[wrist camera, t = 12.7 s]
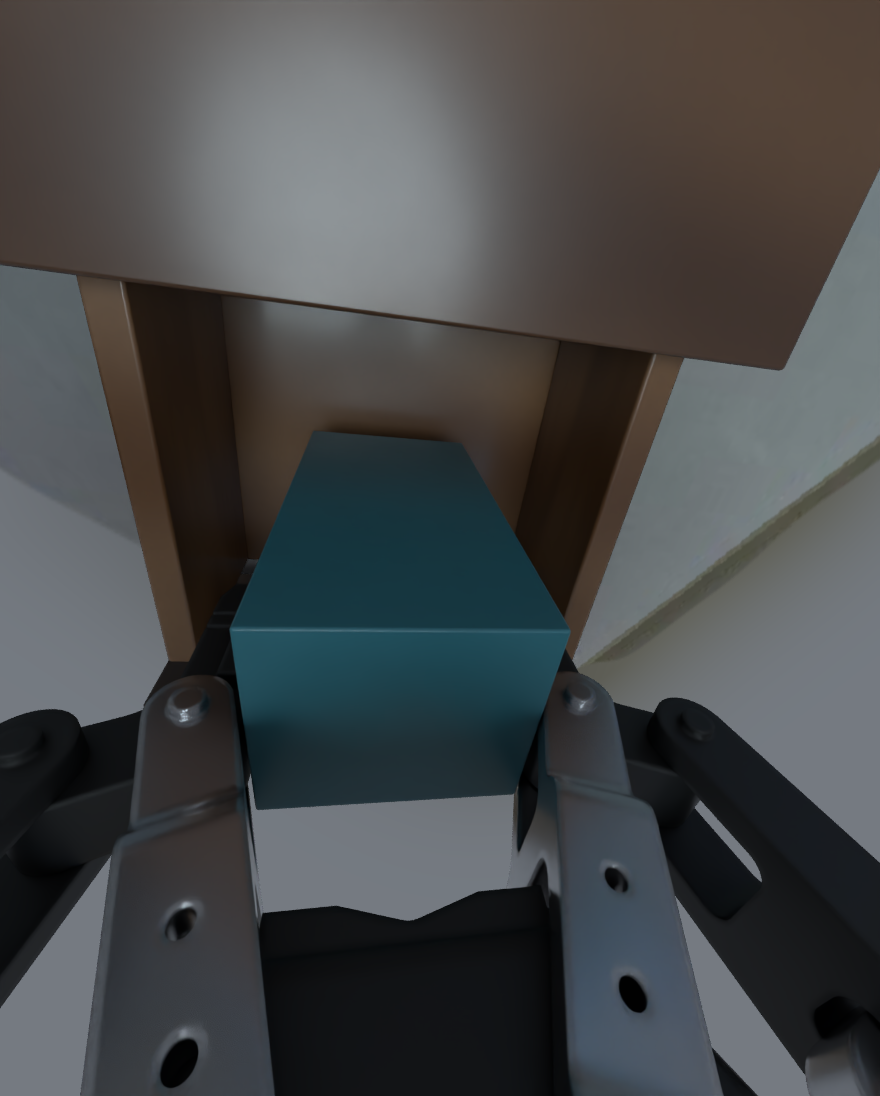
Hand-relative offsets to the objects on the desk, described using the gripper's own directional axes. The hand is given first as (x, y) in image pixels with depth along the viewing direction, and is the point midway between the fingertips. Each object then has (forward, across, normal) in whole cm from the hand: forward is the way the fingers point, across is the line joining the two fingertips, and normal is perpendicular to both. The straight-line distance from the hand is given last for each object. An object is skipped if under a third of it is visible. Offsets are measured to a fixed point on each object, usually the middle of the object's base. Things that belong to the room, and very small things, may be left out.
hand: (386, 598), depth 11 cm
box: (+4, 0, -1) cm, 4 cm away
